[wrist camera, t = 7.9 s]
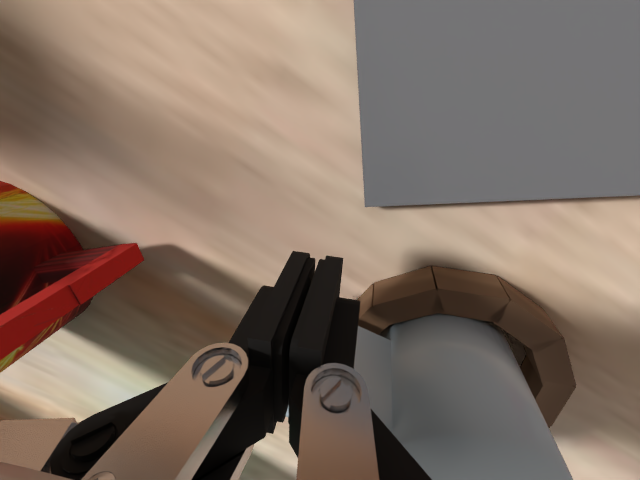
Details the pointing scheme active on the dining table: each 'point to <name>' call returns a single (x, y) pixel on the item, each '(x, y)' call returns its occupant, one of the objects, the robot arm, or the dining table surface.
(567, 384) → the stand
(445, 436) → the jug
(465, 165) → the tile
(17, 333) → the mug
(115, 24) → the dining table surface
